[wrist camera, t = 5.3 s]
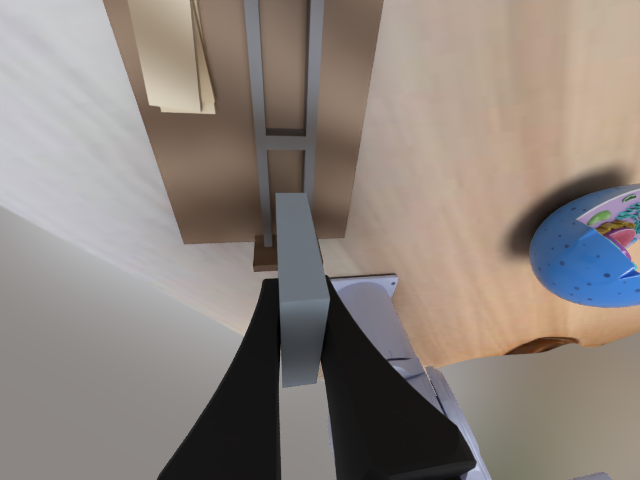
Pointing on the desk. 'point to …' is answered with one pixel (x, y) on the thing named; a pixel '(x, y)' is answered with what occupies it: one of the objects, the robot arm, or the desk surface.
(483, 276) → the desk surface
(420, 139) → the desk surface
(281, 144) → the board with sliding block
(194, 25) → the offcut stack
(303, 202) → the slate board
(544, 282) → the cell model
